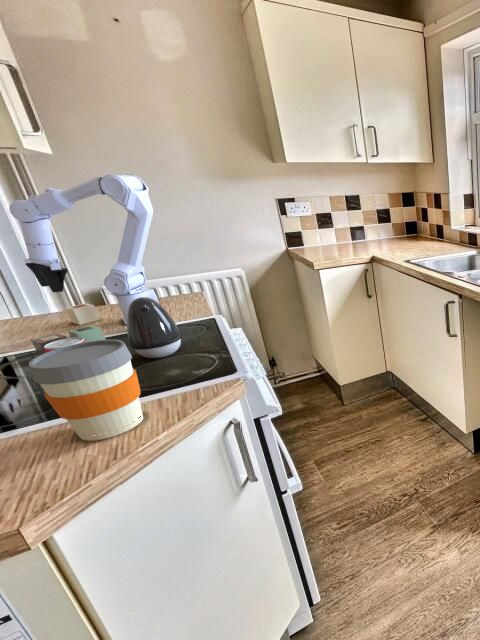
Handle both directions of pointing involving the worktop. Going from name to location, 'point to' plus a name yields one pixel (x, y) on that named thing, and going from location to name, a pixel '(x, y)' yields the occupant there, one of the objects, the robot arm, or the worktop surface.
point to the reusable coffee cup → (91, 387)
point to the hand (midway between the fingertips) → (52, 288)
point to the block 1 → (46, 342)
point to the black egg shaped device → (151, 329)
